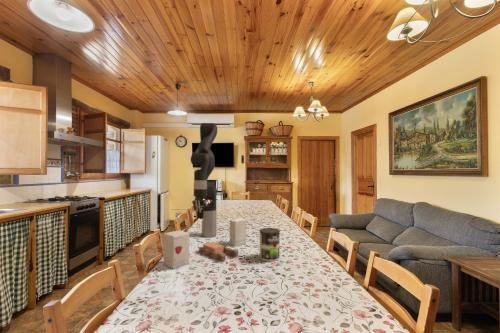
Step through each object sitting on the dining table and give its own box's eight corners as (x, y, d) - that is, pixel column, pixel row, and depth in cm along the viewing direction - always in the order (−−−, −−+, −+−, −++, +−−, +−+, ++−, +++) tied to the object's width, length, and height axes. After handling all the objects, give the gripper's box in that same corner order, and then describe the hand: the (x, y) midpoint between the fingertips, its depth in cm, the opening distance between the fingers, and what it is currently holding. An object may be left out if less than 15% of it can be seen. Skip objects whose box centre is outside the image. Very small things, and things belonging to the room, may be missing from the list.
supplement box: (173, 269, 117) (173, 236, 117) (162, 264, 123) (162, 233, 123) (190, 264, 124) (190, 232, 124) (179, 259, 130) (179, 229, 130)
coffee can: (283, 259, 130) (283, 231, 130) (266, 262, 126) (266, 233, 126) (272, 253, 140) (272, 227, 140) (255, 256, 135) (255, 229, 135)
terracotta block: (203, 251, 141) (203, 244, 141) (212, 249, 145) (212, 242, 145) (214, 256, 134) (214, 248, 134) (223, 253, 138) (223, 245, 138)
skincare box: (240, 241, 160) (240, 217, 160) (246, 244, 155) (246, 219, 155) (229, 244, 155) (229, 219, 155) (235, 247, 150) (235, 221, 150)
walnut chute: (198, 252, 140) (198, 245, 140) (214, 248, 147) (214, 241, 147) (222, 262, 126) (222, 254, 126) (238, 257, 133) (238, 249, 133)
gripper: (188, 187, 150) (188, 217, 150) (201, 189, 140) (201, 221, 140) (198, 187, 155) (198, 215, 155) (213, 188, 146) (213, 219, 146)
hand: (200, 218), depth 148 cm, fingers closed
